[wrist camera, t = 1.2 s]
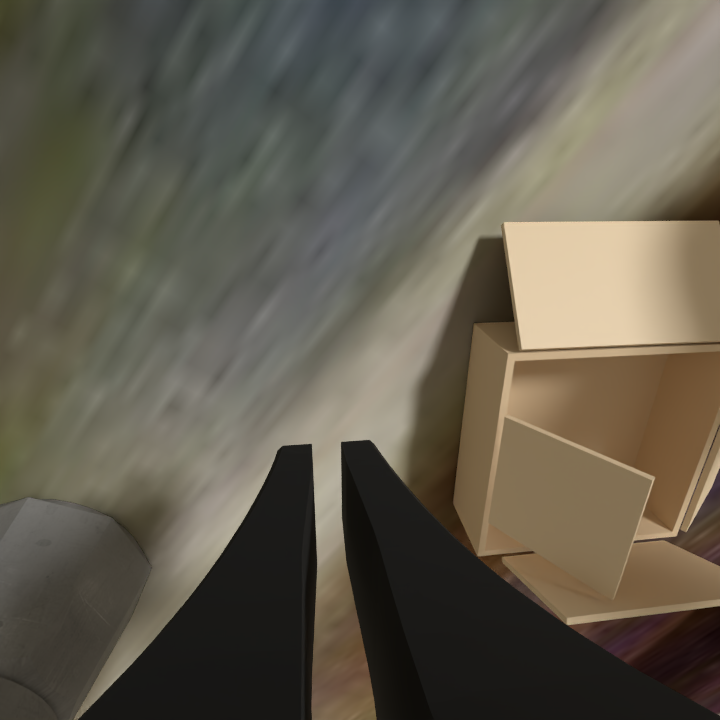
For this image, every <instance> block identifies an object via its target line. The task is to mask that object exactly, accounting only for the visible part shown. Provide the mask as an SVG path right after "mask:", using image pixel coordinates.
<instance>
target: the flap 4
mask: <svg viewBox="0 0 720 720" xmlns="http://www.w3.org/2000/svg"><path fill="white" fill-rule="evenodd" d="M719 468H720V428H719V430H718V433H717V436H716V438H715V441H714V443H713V446H712V449H711V451H710V454H709V456H708V459H707V462H706V464H705V467H704V469H703V472H702V475H701V477H700V480H699V482H698V485H697V488H696V490H695V493H694V495H693V498H692V500H691V503H690V506H689V508H688V511H687V513H686V516H685V519H684V521H683V524H682V526H681V530H683V531H685V532H687V530H688V528H689V526H690V525H691V523H692V521H693V519H694V517H695V516H696V514H697V512H698V510H699V509H700V507H701V505H702V503H703V501H704V500H705V498H706V496H707V494H708V492H709V491H710V489H711V487H712V485H713V483H714V480H715V478H716V475H717V473H718V470H719Z"/></svg>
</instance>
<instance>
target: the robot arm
mask: <svg viewBox="0 0 720 720" xmlns="http://www.w3.org/2000/svg"><path fill="white" fill-rule="evenodd" d="M341 467H342V521H343V531H344V541H345V551H346V561H347V566H348V571H349V576H350V581H351V586H352V591H353V595H354V600H355V605H356V610H357V615H358V619H359V624H360V629H361V634H362V638H363V643H364V648H365V653H366V657H367V662H368V667H369V672H370V678H371V683H372V689H373V695H374V701H375V709H376V717H377V720H720V716H719V715H717V714H715V713H713V712H712V711H710V710H708V709H706V708H705V707H703V706H701V705H699V704H697V703H696V702H694V701H692V700H690V699H688V698H687V697H685V696H683V695H681V694H680V693H678V692H676V691H674V690H672V689H671V688H669V687H667V686H665V685H663V684H662V683H660V682H658V681H656V680H654V679H653V678H651V677H649V676H647V675H646V674H644V673H642V672H640V671H638V670H637V669H635V668H633V667H632V666H630V665H628V664H627V663H625V662H624V661H622V660H620V659H619V658H617V657H616V656H614V655H612V654H611V653H609V652H608V651H606V650H604V649H603V648H601V647H600V646H598V645H597V644H595V643H593V642H592V641H590V640H589V639H587V638H585V637H584V636H582V635H581V634H579V633H578V632H576V631H575V630H573V629H572V628H570V627H569V626H567V625H566V624H564V623H563V622H561V621H560V620H558V619H557V618H556V617H554V616H553V615H551V614H550V613H549V612H547V611H546V610H544V609H543V608H542V607H540V606H539V605H537V604H536V603H535V602H533V601H532V600H531V599H529V598H528V597H526V596H525V595H524V594H522V593H521V592H519V591H518V590H517V589H515V588H514V587H513V586H511V585H510V584H509V583H507V582H506V581H505V580H504V579H502V578H501V577H500V576H499V575H497V574H496V573H495V572H494V571H492V570H491V569H490V568H489V567H488V566H487V565H485V564H484V563H483V562H482V561H481V560H480V559H478V558H477V557H476V556H475V555H474V554H473V553H471V552H470V551H469V550H468V549H467V548H466V547H465V546H464V545H463V544H462V543H460V542H459V541H458V540H457V539H456V538H455V537H454V536H453V535H452V534H451V533H450V532H449V531H448V530H447V529H446V528H445V527H444V526H443V525H442V524H441V523H440V522H439V521H438V520H437V519H436V518H435V517H434V516H433V515H432V514H431V513H430V512H429V511H428V510H427V509H426V508H425V506H424V505H423V504H422V503H421V502H420V501H419V500H418V499H417V497H416V496H415V495H414V494H413V493H412V492H411V491H410V490H409V488H408V487H407V486H406V485H405V484H404V483H403V481H402V480H401V479H400V478H399V477H398V475H397V474H396V473H395V472H394V470H393V469H392V468H391V467H390V465H389V464H388V463H387V461H386V460H385V459H384V457H383V456H382V455H381V453H380V452H379V450H378V449H377V447H376V446H375V445H374V444H373V443H372V442H371V441H370V440H363V441H348V442H341ZM316 579H317V551H316V527H315V504H314V481H313V459H312V444H304V445H289V446H282V447H281V448H280V449H279V450H278V451H277V454H276V457H275V460H274V462H273V465H272V467H271V469H270V472H269V474H268V476H267V478H266V480H265V482H264V484H263V486H262V488H261V490H260V492H259V494H258V495H257V497H256V499H255V501H254V503H253V504H252V506H251V508H250V510H249V512H248V513H247V515H246V517H245V518H244V520H243V522H242V523H241V525H240V526H239V528H238V529H237V531H236V533H235V534H234V536H233V537H232V539H231V540H230V542H229V543H228V545H227V546H226V548H225V550H224V551H223V553H222V554H221V556H220V557H219V558H218V560H217V561H216V563H215V564H214V565H213V567H212V568H211V570H210V571H209V572H208V574H207V575H206V576H205V578H204V579H203V580H202V582H201V583H200V584H199V586H198V587H197V588H196V589H195V591H194V592H193V593H192V595H191V596H190V597H189V599H188V600H187V601H186V602H185V603H184V605H183V606H182V607H181V608H180V609H179V611H178V612H177V613H176V614H175V615H174V617H173V618H172V619H171V620H170V621H169V623H168V624H167V625H166V626H165V627H164V628H163V630H162V631H161V632H160V633H159V634H158V636H157V637H156V638H155V639H154V640H153V641H152V642H151V644H150V645H149V646H148V647H147V648H146V649H145V650H144V651H143V653H142V654H141V655H140V656H139V657H138V658H137V659H136V660H135V661H134V662H133V664H132V665H131V666H130V667H129V668H128V669H127V670H126V671H125V672H124V673H123V674H122V675H121V676H120V677H119V678H118V679H117V680H116V681H115V682H114V683H113V684H112V685H111V686H110V687H109V688H108V689H107V690H106V691H105V692H104V693H103V695H102V696H101V697H100V698H99V699H98V700H97V701H96V702H95V703H94V704H93V705H92V706H91V707H90V708H89V709H88V710H87V711H86V712H85V713H84V714H83V715H82V716H81V717H80V718H79V719H78V720H312V713H311V698H312V663H313V642H314V621H315V600H316Z"/></svg>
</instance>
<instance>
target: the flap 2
mask: <svg viewBox="0 0 720 720" xmlns="http://www.w3.org/2000/svg"><path fill="white" fill-rule="evenodd" d="M654 479H655V477H654V476H651V475H649V474H647V473H644V472H642V471H640V470H637V469H635V468H633V467H630V466H628V465H626V464H623V463H621V462H618V461H616V460H614V459H611V458H609V457H607V456H604V455H602V454H600V453H597V452H595V451H593V450H590V449H588V448H586V447H583V446H581V445H578V444H576V443H574V442H571V441H569V440H567V439H564V438H562V437H560V436H557V435H555V434H553V433H550V432H548V431H545V430H543V429H541V428H538V427H536V426H534V425H531V424H529V423H527V422H524V421H522V420H520V419H517V418H515V417H513V416H510V415H507V416H505V418H504V424H503V431H502V437H501V443H500V450H499V456H498V462H497V469H496V475H495V481H494V488H493V494H492V500H491V507H490V513H489V519H488V523H489V524H491V525H492V526H494V527H496V528H497V529H499V530H500V531H502V532H503V533H505V534H507V535H508V536H510V537H511V538H513V539H515V540H516V541H518V542H519V543H521V544H523V545H524V546H526V547H527V548H529V549H531V550H532V551H534V552H535V553H537V554H538V555H540V556H542V557H543V558H545V559H546V560H548V561H550V562H551V563H553V564H554V565H556V566H558V567H559V568H561V569H562V570H564V571H565V572H567V573H569V574H570V575H572V576H573V577H575V578H577V579H578V580H580V581H581V582H583V583H585V584H586V585H588V586H589V587H591V588H593V589H594V590H596V591H597V592H599V593H600V594H602V595H604V596H605V597H607V598H608V599H610V600H612V601H613V599H614V598H615V596H616V593H617V590H618V587H619V584H620V581H621V578H622V575H623V572H624V569H625V566H626V563H627V560H628V557H629V554H630V551H631V548H632V545H633V542H634V539H635V536H636V533H637V530H638V527H639V524H640V521H641V518H642V515H643V512H644V509H645V506H646V503H647V500H648V497H649V494H650V491H651V488H652V485H653V482H654Z"/></svg>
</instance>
